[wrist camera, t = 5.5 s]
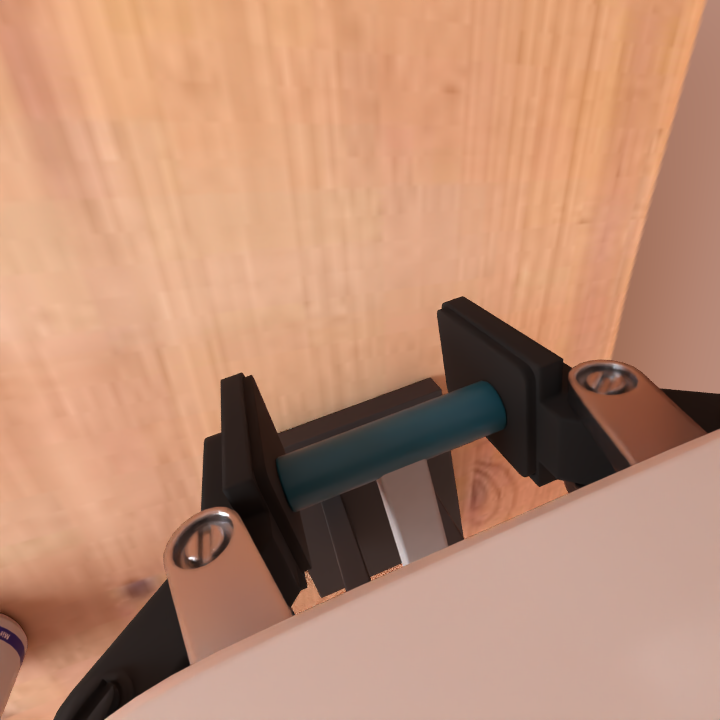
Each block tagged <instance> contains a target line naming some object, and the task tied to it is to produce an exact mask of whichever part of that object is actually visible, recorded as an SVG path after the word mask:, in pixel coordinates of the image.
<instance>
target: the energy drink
mask: <svg viewBox="0 0 720 720" xmlns="http://www.w3.org/2000/svg"><path fill="white" fill-rule="evenodd" d="M27 648H28V641H27V637H26V635H25V633H24V631H23V630H22V628H21V626H20V625H19V624H18V623H17V622H16V621H14V620H13V619H11V618H10V617H8V616H6V615H4V614H1V613H0V719H1V717H2V714H3V712H4V709H5V706H6V704H7V701H8V699H9V696H10V693H11V691H12V688H13V686H14V683H15V680H16V678H17V675H18V673H19V670H20V667H21V665H22V662H23V660H24V657H25V654H26V651H27Z"/></svg>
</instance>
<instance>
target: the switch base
mask: <svg viewBox="0 0 720 720" xmlns="http://www.w3.org/2000/svg"><path fill="white" fill-rule="evenodd" d="M439 396H442V390H441V388H440V387H439V386H438V385H437V384H436V383H435V382H434V381H433V379H432V378H428V379H425V380H422V381H420V382H417V383H414V384H412V385H409V386H406V387H403V388H401V389H398V390H395V391H393V392H390V393H387V394H384V395H382V396H379V397H376V398H374V399H371V400H368V401H365V402H363V403H360V404H357V405H354V406H352V407H349V408H346V409H344V410H341V411H338V412H335V413H333V414H330V415H327V416H325V417H322V418H319V419H316V420H314V421H311V422H308V423H306V424H303V425H300V426H297V427H295V428H292V429H289V430H287V431H284V432H281V433H278V436H279V438H280V441H281V443H282V445H283V448H284V450H285V453H286V454H288V453H290V452H293V451H296V450H298V449H301V448H304V447H306V446H309V445H312V444H314V443H317V442H320V441H322V440H325V439H328V438H330V437H333V436H336V435H338V434H341V433H344V432H346V431H349V430H351V429H354V428H357V427H359V426H362V425H365V424H367V423H370V422H373V421H375V420H378V419H381V418H383V417H386V416H389V415H391V414H394V413H397V412H399V411H402V410H405V409H407V408H410V407H413V406H415V405H418V404H421V403H423V402H426V401H429V400H431V399H434V398H436V397H439ZM427 464H428V468H429V472H430V476H431V480H432V484H433V488H434V492H435V496H436V500H437V504H438V508H439V512H440V516H441V519H442V523H443V527H444V531H445V535H446V539H447V543H448V546H450V545H453V544H455V543H457V542H459V541H462V540H464V537H463V530H462V524H461V517H460V510H459V504H458V497H457V490H456V484H455V477H454V470H453V463H452V457H451V450H450V451H448V452H445V453H443V454H440V455H438V456H435V457H433V458H430V459H428V460H427ZM300 515H301V519H302V524H303V528H304V533H305V537H306V542H307V546H308V550H309V555H310V559H311V564H312V569H310V570H308V572H309V574H310V576H311V578H312V580H313V582H314V584H315V586H316V588H317V590H318V593H319V595H320V597H321V598H323V597H325V596H327V595H330V594H332V593H334V592H337V591H339V590H341V589H343V588H345V590H346V592H347V591H350V590H352V589H354V588H356V587H359V586H361V585H363V584H365V583H368V582H370V581H371V578H370V577H371V576H373V575H376V574H378V573H380V572H383V571H385V570H387V569H390V568H392V567H394V566H396V565H399V564H401V563H402V561H401V558H400V555H399V551H398V548H397V545H396V542H395V538H394V535H393V532H392V529H391V526H390V522H389V519H388V516H387V513H386V510H385V506H384V503H383V500H382V497H381V494H380V490H379V487H378V484H377V481H376V480H375V481H373V482H370V483H368V484H365V485H363V486H360V487H358V488H355V489H353V490H350V491H348V492H345V493H342V494H340V495H337V496H335V497H332V498H330V499H327V500H325V501H322V502H320V503H317V504H315V505H312V506H310V507H307V508H305V509H302V510H300Z"/></svg>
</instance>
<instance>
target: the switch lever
mask: <svg viewBox="0 0 720 720" xmlns="http://www.w3.org/2000/svg"><path fill="white" fill-rule="evenodd" d="M506 424H507V415H506V411H505V407H504V405H503V402H502V400H501V398H500V396H499V394H498V393H497V391H496V390H495V389H494V387H493V386H492V385H491V384H490V383H488V382H486V381H479V382H476V383H474V384H471V385H468V386H466V387H463V388H460V389H458V390H455V391H452V392H450V393H447V394H444V395H442V396H439V397H436V398H434V399H431V400H429V401H426V402H423V403H421V404H418V405H415V406H413V407H410V408H407V409H405V410H402V411H399V412H397V413H394V414H391V415H389V416H386V417H383V418H381V419H378V420H375V421H373V422H370V423H367V424H365V425H362V426H359V427H357V428H354V429H351V430H349V431H346V432H344V433H341V434H338V435H336V436H333V437H330V438H328V439H325V440H322V441H320V442H317V443H314V444H312V445H309V446H306V447H304V448H301V449H298V450H296V451H293V452H290V453H288V454H285V455H282V456H280V457H278V458H277V459H276V467H277V472H278V476H279V480H280V483H281V486H282V489H283V492H284V495H285V498H286V500H287V502H288V505H289V507H290V508H291V510H292V511H293V512H297V511H300V510H302V509H305V508H307V507H310V506H312V505H315V504H317V503H320V502H322V501H325V500H327V499H330V498H332V497H335V496H337V495H340V494H342V493H345V492H348V491H350V490H353V489H355V488H358V487H360V486H363V485H365V484H368V483H370V482H373V481H375V480H376V481H377V484H378V487H379V490H380V494H381V497H382V500H383V503H384V506H385V510H386V513H387V516H388V519H389V522H390V526H391V529H392V532H393V535H394V538H395V542H396V545H397V548H398V551H399V555H400V558H401V561H402V564H403V566H406V565H408V564H410V563H412V562H414V561H417V560H419V559H421V558H423V557H426V556H428V555H430V554H432V553H435V552H437V551H439V550H441V549H444V548H446V547H448V543H447V539H446V535H445V531H444V527H443V523H442V519H441V516H440V512H439V508H438V504H437V500H436V496H435V492H434V488H433V484H432V480H431V476H430V472H429V468H428V464H427V460H428V459H430V458H433V457H435V456H438V455H440V454H443V453H445V452H448V451H450V450H453V449H455V448H458V447H460V446H463V445H465V444H468V443H470V442H473V441H475V440H478V439H480V438H483V437H485V436H488V435H490V434H493V433H495V432H498V431H500V430H503V429H504V428H505V427H506Z"/></svg>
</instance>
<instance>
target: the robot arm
mask: <svg viewBox="0 0 720 720" xmlns="http://www.w3.org/2000/svg"><path fill="white" fill-rule="evenodd" d="M437 318H438V325H439V333H440V340H441V347H442V354H443V362H444V369H445V376H446V383H447V389H448V393H450V392H452V391H455V390H458V389H460V388H463V387H466V386H468V385H471V384H474V383H476V382H479V381H486V382H488V383H490V384H491V385H492V386H493V387H494V389H495V390H496V391H497V393H498V394H499V396H500V398H501V400H502V402H503V405H504V407H505V411H506V415H507V424H506V427H505V428H504V429H503V430H500V431H498V432H495V433H493V434H490V435H488V436H486V438H487V439H488V440H489V441H490V442H491V443H492V444H493V445H494V446H495V447H496V449H497V450H498V451H499V452H500V453H501V454H502V455H503V456H504V457H505V458H506V460H507V461H508V462H509V463H510V464H511V465H512V466H513V467H514V468H515V469H516V471H517V472H518V473H519V474H520V475H521V476H523V477H527V476H529V477H530V478H531V479H532V480H533V481H534V482H535V483H536V484H537V485H538V486H539V487H541V486H543V485H545V484H548V483H550V482H552V481H554V480H557V479H558V480H563V481H564V484H565V487H566V489H567V491H568V494H566V495H564V496H562V497H559V498H557V499H555V500H552V501H550V502H548V503H546V504H543V505H541V506H539V507H537V508H534V509H532V510H530V511H527V512H525V513H523V514H521V515H518V516H516V517H514V518H512V519H509V520H507V521H505V522H502V523H500V524H498V525H496V526H493V527H491V528H489V529H487V530H484V531H482V532H480V533H478V534H475V535H473V536H471V537H469V538H466V539H464V540H462V541H459V542H457V543H455V544H453V545H450V546H448V547H446V548H444V549H441V550H439V551H437V552H435V553H432V554H430V555H428V556H426V557H423V558H421V559H419V560H417V561H414V562H412V563H410V564H408V565H406V566H403V567H401V568H399V569H397V570H394V571H392V572H390V573H388V574H385V575H383V576H381V577H379V578H376V579H374V580H372V581H370V582H368V583H365V584H363V585H361V586H359V587H356V588H354V589H352V590H350V591H347V592H345V593H343V594H341V595H339V596H336V597H334V598H332V599H330V600H327V601H325V602H323V603H321V604H318V605H316V606H314V607H312V608H309V609H307V610H305V611H303V612H301V613H299V614H296V615H295V613H294V611H293V610H292V608H291V606H292V604H293V603H294V601H295V599H296V598H297V596H298V594H299V592H300V591H301V590H303V589H305V588H307V583H306V578H305V573H304V572H305V571H307V570H310V569H312V564H311V559H310V555H309V550H308V546H307V542H306V537H305V533H304V528H303V524H302V519H301V515H300V511H297V512H293V511H292V510H291V508H290V507H289V505H288V502H287V500H286V498H285V495H284V492H283V489H282V486H281V483H280V480H279V476H278V472H277V467H276V459H277V458H278V457H280V456H282V455H285V454H286V453H285V450H284V448H283V445H282V443H281V441H280V438H279V436H278V434H277V431H276V429H275V427H274V424H273V422H272V420H271V417H270V415H269V412H268V410H267V408H266V405H265V403H264V401H263V398H262V396H261V394H260V391H259V389H258V387H257V384H256V382H255V380H254V378H253V376H252V375H250V376H247V377H245V376H244V374H243V373H239V374H236V375H233V376H231V377H228V378H225V379H222V380H221V433H218V434H215V435H213V436H210V437H207V438H206V439H205V441H204V454H203V478H202V501H201V512H199V513H197V514H195V515H193V516H192V517H191V518H189V519H188V520H187V521H185V522H184V523H183V524H182V525H181V526H180V527H179V528H178V529H177V530H176V531H175V532H174V533H173V535H172V537H171V538H170V540H169V541H168V543H167V545H166V549H165V552H164V555H163V556H164V568H165V571H166V575H167V580H166V581H165V582H164V583H163V584H162V586H161V587H160V588H159V589H158V590H157V592H156V593H155V594H154V595H153V596H152V597H151V599H150V600H149V601H148V602H147V603H146V604H145V606H144V607H143V608H142V609H141V610H140V612H139V613H138V614H137V615H136V616H135V617H134V619H133V620H132V621H131V622H130V623H129V625H128V626H127V627H126V628H125V629H124V630H123V632H122V633H121V634H120V635H119V636H118V637H117V639H116V640H115V641H114V642H113V643H112V645H111V646H110V647H109V648H108V649H107V650H106V652H105V653H104V654H103V655H102V656H101V658H100V659H99V660H98V661H97V662H96V663H95V665H94V666H93V667H92V668H91V669H90V670H89V672H88V673H87V674H86V675H85V676H84V678H83V679H82V680H81V681H80V682H79V683H78V685H77V686H76V687H75V688H74V689H73V691H72V692H71V693H70V694H69V696H68V697H67V698H66V700H65V701H64V703H63V704H62V705H61V707H60V708H59V710H58V711H57V713H56V715H55V717H54V719H53V720H720V394H713V393H702V392H692V391H681V390H671V389H660V388H658V387H657V386H656V385H655V384H654V383H653V382H652V381H650V379H649V378H647V377H646V376H645V375H644V374H643V373H642V372H641V371H639V370H638V369H636V368H635V367H633V366H631V365H628V364H626V363H623V362H618V361H613V360H591V361H587V362H583V363H580V364H578V365H577V366H575V367H573V368H571V367H570V366H568V365H566V364H565V363H563V359H562V358H561V357H559V356H558V355H556V354H554V353H553V352H551V351H550V350H548V349H546V348H545V347H543V346H542V345H540V344H538V343H537V342H535V341H534V340H532V339H531V338H529V337H527V336H526V335H524V334H523V333H521V332H519V331H518V330H516V329H515V328H513V327H511V326H510V325H508V324H507V323H505V322H503V321H502V320H500V319H499V318H497V317H495V316H494V315H492V314H491V313H489V312H487V311H486V310H484V309H483V308H481V307H480V306H478V305H476V304H475V303H473V302H472V301H470V300H468V299H467V298H465V297H463V296H462V297H459V298H456V299H453V300H450V301H447V302H445V303H443V304H442V309H440V310H438V311H437Z"/></svg>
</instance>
